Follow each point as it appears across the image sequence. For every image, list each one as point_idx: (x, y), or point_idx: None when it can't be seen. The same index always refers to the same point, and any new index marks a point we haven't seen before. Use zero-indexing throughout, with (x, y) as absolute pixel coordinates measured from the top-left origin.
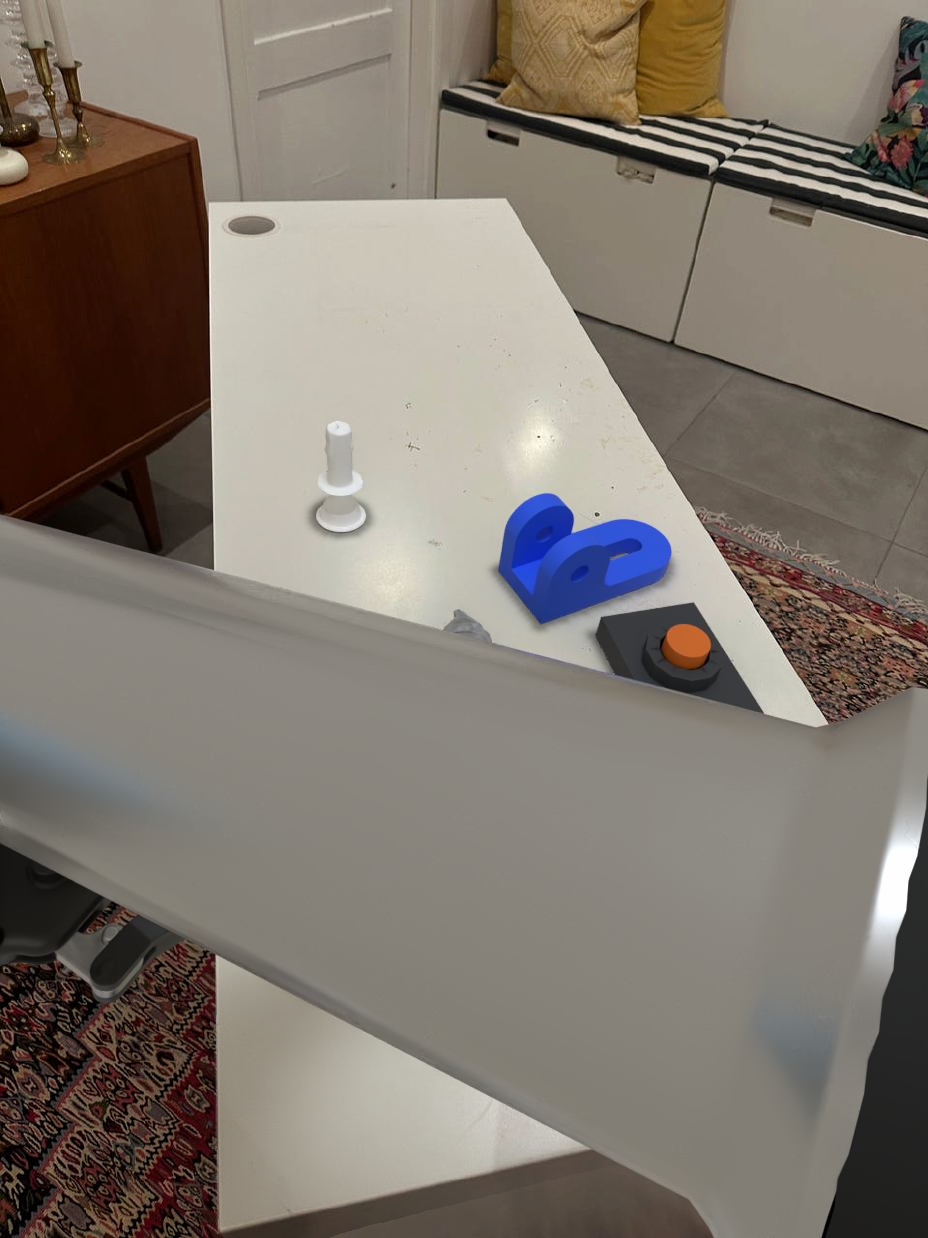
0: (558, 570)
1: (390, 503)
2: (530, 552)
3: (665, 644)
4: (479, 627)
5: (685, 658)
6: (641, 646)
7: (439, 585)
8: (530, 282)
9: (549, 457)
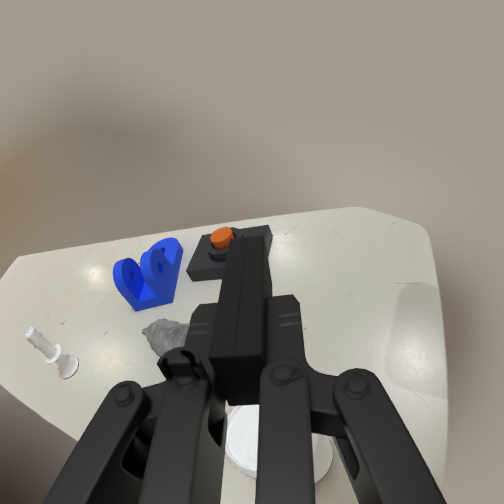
0: (153, 272)
1: (77, 343)
2: (136, 288)
3: (216, 244)
4: (158, 320)
5: (228, 238)
6: (210, 259)
7: (125, 339)
8: (45, 255)
9: (103, 272)
